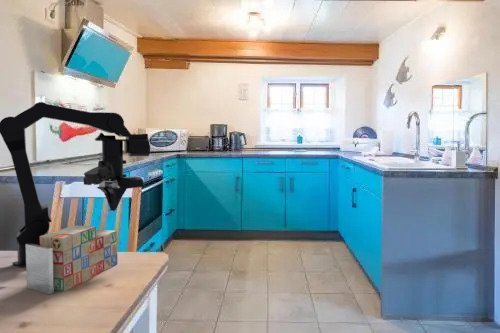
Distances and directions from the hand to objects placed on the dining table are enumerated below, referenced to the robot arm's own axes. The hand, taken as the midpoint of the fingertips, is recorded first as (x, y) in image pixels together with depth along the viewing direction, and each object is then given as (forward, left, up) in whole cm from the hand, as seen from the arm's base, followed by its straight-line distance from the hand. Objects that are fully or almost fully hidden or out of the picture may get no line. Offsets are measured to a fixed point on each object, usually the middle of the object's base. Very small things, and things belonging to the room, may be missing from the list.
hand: (113, 210), depth 124 cm
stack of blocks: (+8, -18, -13) cm, 23 cm away
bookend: (+9, -29, -13) cm, 33 cm away
